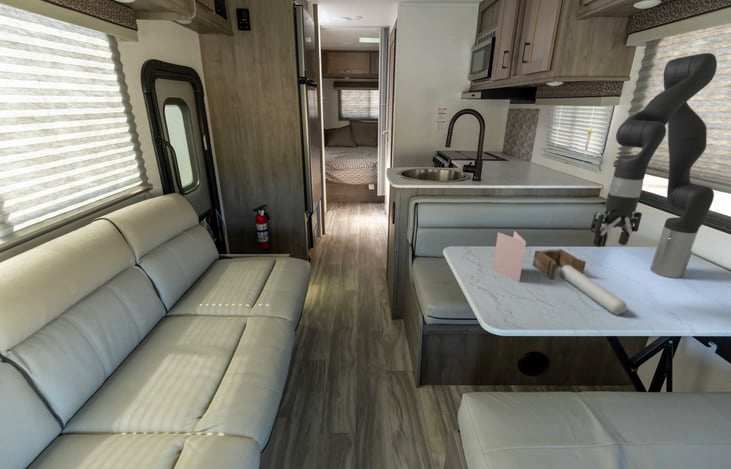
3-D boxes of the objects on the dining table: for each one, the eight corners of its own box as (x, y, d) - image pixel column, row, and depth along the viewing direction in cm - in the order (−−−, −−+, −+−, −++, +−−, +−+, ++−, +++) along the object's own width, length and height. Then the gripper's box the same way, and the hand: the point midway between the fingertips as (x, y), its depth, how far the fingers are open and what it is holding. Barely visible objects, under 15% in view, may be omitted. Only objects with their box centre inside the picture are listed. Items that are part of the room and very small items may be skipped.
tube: (634, 304, 104) (576, 266, 127) (620, 301, 103) (564, 263, 126) (624, 319, 106) (568, 279, 129) (610, 316, 104) (556, 276, 127)
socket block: (560, 263, 139) (563, 248, 137) (583, 277, 128) (586, 262, 126) (530, 265, 137) (532, 251, 135) (550, 280, 126) (553, 264, 124)
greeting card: (521, 282, 124) (529, 242, 119) (500, 281, 125) (506, 241, 119) (510, 267, 135) (516, 230, 130) (490, 267, 135) (496, 230, 130)
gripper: (634, 189, 107) (619, 239, 113) (592, 190, 105) (579, 241, 111) (657, 195, 100) (640, 248, 106) (612, 197, 98) (598, 251, 104)
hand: (609, 245), depth 108 cm, fingers open, 8 cm apart
